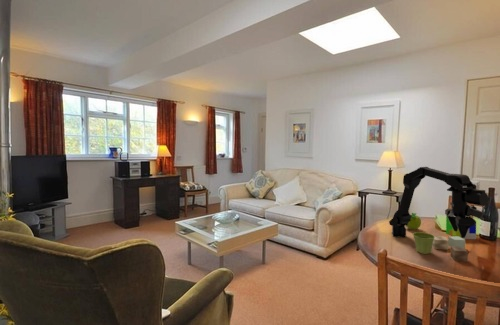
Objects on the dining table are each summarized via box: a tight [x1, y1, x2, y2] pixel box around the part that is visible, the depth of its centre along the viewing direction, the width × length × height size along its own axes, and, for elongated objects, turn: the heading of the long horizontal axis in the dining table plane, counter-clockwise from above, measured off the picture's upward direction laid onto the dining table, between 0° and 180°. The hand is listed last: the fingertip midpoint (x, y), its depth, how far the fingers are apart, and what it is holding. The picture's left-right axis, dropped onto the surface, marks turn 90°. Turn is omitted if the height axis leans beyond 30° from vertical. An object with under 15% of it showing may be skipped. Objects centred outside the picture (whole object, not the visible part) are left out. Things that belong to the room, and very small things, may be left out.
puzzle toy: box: [445, 216, 477, 240], centre depth 151 cm, size 10×10×10 cm
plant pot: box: [412, 231, 436, 255], centre depth 131 cm, size 9×9×9 cm
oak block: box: [432, 235, 449, 251], centre depth 136 cm, size 6×6×5 cm
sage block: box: [447, 235, 466, 249], centre depth 135 cm, size 5×5×5 cm
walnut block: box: [450, 246, 469, 263], centre depth 122 cm, size 5×5×5 cm
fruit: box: [405, 212, 422, 231], centre depth 166 cm, size 9×9×10 cm
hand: (459, 234), depth 121 cm, fingers open, 9 cm apart
